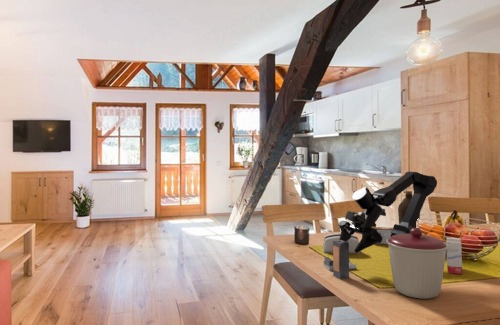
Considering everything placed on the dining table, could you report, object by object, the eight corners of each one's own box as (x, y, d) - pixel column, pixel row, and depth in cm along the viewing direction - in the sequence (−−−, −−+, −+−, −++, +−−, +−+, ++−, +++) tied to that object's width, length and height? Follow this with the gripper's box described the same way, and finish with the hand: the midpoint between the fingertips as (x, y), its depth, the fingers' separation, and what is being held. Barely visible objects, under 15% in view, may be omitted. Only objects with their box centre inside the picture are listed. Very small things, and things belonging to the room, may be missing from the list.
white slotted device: (358, 250, 160) (359, 231, 157) (360, 256, 156) (361, 237, 153) (322, 249, 163) (322, 231, 159) (322, 255, 159) (323, 236, 155)
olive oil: (407, 241, 175) (406, 192, 174) (393, 236, 185) (393, 190, 185) (424, 239, 177) (424, 192, 177) (410, 235, 188) (410, 190, 187)
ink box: (462, 275, 126) (462, 243, 126) (446, 273, 128) (446, 241, 128) (461, 268, 133) (461, 238, 133) (446, 266, 136) (446, 236, 136)
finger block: (341, 274, 129) (341, 239, 129) (349, 277, 125) (348, 242, 125) (332, 275, 127) (332, 241, 127) (339, 279, 123) (339, 243, 123)
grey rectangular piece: (349, 263, 141) (349, 255, 140) (356, 268, 134) (355, 260, 134) (323, 265, 139) (323, 256, 139) (329, 270, 133) (329, 261, 133)
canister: (377, 283, 119) (376, 223, 119) (426, 281, 120) (426, 221, 120) (404, 306, 101) (403, 235, 101) (462, 303, 102) (462, 233, 102)
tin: (401, 244, 169) (401, 227, 169) (402, 246, 166) (402, 229, 166) (369, 243, 173) (369, 226, 173) (369, 244, 170) (369, 227, 170)
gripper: (341, 200, 137) (319, 230, 133) (376, 206, 121) (352, 241, 116) (356, 218, 141) (335, 248, 137) (392, 226, 124) (369, 260, 120)
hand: (346, 249), depth 127 cm, fingers open, 9 cm apart
